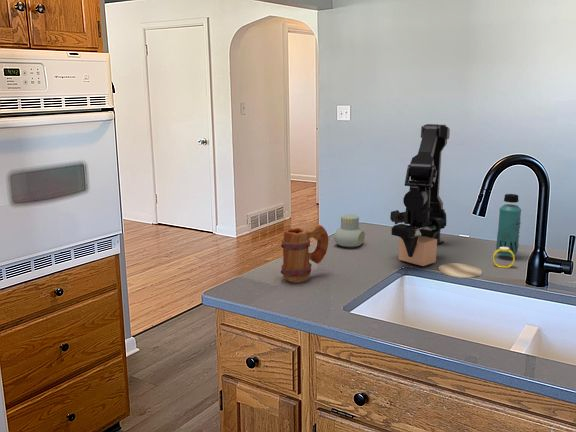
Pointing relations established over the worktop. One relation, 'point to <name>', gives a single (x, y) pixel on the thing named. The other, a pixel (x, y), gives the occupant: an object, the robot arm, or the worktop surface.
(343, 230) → the air freshener
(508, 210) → the beverage bottle
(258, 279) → the worktop surface
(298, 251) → the mug
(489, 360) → the worktop surface
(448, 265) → the coaster
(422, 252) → the salmon pink block
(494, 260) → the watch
